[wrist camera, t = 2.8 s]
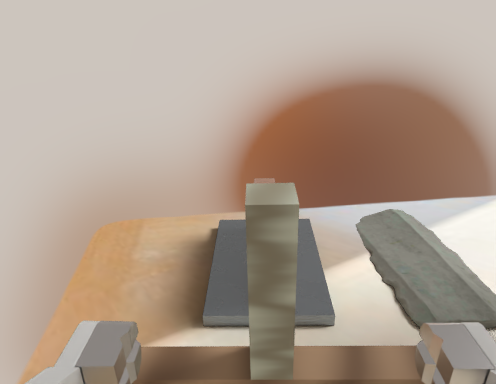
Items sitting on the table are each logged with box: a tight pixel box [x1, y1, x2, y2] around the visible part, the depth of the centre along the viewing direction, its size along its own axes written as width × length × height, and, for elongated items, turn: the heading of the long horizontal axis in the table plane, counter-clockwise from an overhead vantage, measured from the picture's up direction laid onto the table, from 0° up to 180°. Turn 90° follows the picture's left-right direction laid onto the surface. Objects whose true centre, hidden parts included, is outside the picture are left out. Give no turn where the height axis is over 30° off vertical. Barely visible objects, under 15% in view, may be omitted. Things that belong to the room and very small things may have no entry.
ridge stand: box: [203, 178, 335, 326], centre depth 41 cm, size 12×18×8 cm, turn 179°
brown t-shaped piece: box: [132, 183, 425, 384], centre depth 26 cm, size 24×3×16 cm, turn 89°
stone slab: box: [356, 209, 496, 328], centre depth 44 cm, size 22×3×10 cm
